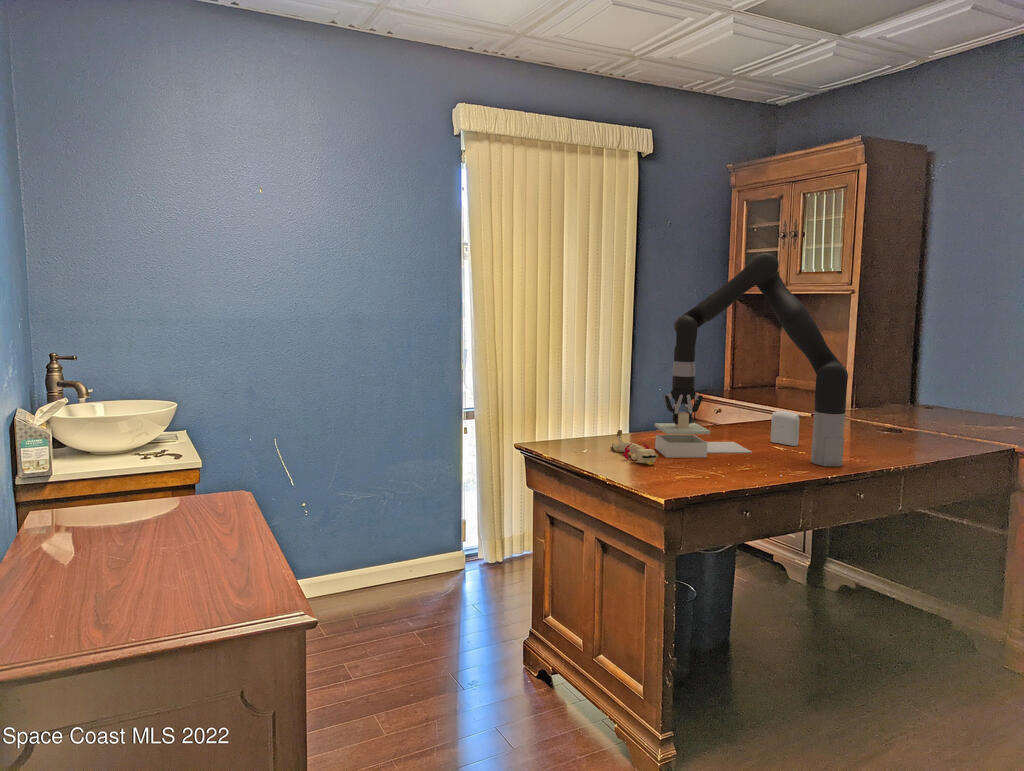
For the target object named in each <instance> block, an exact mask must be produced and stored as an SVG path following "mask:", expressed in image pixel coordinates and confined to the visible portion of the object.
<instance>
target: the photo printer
mask: <svg viewBox="0 0 1024 771" xmlns="http://www.w3.org/2000/svg"><path fill="white" fill-rule="evenodd" d="M799 433H800V416H799V414H797V413H794V412H793V411H787V410H777V411H773V412H772V415H771V424H770V443H772V444H773V443H774V444H780V445H787V446H790V447H791V446H793V447H798V445H799V437H800V434H799Z"/></svg>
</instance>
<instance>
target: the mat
mask: <svg viewBox="0 0 1024 771" xmlns="http://www.w3.org/2000/svg"><path fill="white" fill-rule="evenodd" d="M706 442H707V443H708V444H707V454H753V451H752V450H749V449H748V448H746V447H745V446H742V445H740V444H739V443H737V442H735V441H706Z"/></svg>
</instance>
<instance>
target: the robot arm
mask: <svg viewBox="0 0 1024 771" xmlns="http://www.w3.org/2000/svg"><path fill="white" fill-rule="evenodd" d="M779 266H780V264H779V260H778V258H777V257H776V256H775V255H774V254H773V253H770V252H762V253H758V254H756V255H754V257H753V258H751V260H750V262H749V263H748V264H746V266H745V267H744V268H743V269H742V270H741V271H740V272H738V273H737V274H736V275H735V276H734V277H733V278H732V279H730V280H729V281H728V282H726V283H725V284H724V285H722V286H720V287H719V288H717V289H716V290H715V291H713V292H712V293H711V294H708V296H707V297H705V298H703V299H702V300H701V301H700V302H699V303H698V304H697V305H696V306H694V307H692V308H691V309H690V310H688V311H686V312H685V313H683V314H682V315H681V316H678V318H677V319H676V320H675V321H674V324H673V325H674V326H673V328H674V331H675V332H676V334H675V336H676V340H675V342H676V343H675V346H674V351H673V365H672V372H671V373H672V379H671V380H672V382H671V391H670V392H669V393H668V394H663V395H662V396H663V401H664V403H665V404H664V405H665V406H666V409H667V411H668V412H671V413H672V423H674V424H678V414H677V413H678V412H679V410H680V408H681V405H683V404H684V406H685V408H686V412H687V413H689V424H690V423H692V420H693V419H692V416H693V413H697V412H698V411H699V407H700V405H701V403H702V401H703V399H704V396H703V395H701V394H699V393H696V391H695V390H696V388H695V387H696V386H695V385H696V384H695V383H696V343H697V337H698V329H699V328H700V327H702V326H703V325H704V324H705V323H707V322H710V321H712V320H714V319H715V318H716V317H717V316H718V315H720V314H721V313H723V312H724V311H725V310H726V309H728V308H729V307H730V306H732V304H734V303H735V302H736V301H737V300H738V299H739V298H741V297H742V296H743V295H744V294H745V293H746V292H747V291H749V290H751V289H752V288H753V287H755V286H756V287H757V288H758V290H759V291H760V292H761V294H762V295H763V296H764V297H765V299H766V300H767V302H768V304H769V305H770V307H771V309H772V311H773V313H774V315H775V317H776V318H777V320H778V322H779V323H780V325H781V327H782V328H783V330H784V332H785V333H786V334H787V336H788V337H789V339H790V340H791V341H792V342H793V343H794V345H795V346H796V347H797V348H798V349H799V350H800V351H801V352H802V353H803V354H804V356H805V357H806V358H807V361H808V362H809V363H810V365H811V367H812V369H813V371H814V373H815V375H816V377H815V386H814V387H815V389H814V410H813V412H814V413H813V426H812V442H811V453H810V454H811V456H810V462H811V463H812V464H814V465H818V466H822V467H843V458H844V446H845V438H844V433H845V422H846V421H845V419H846V408H847V392H848V381H849V373H848V370H847V368H846V367H845V366H844V365H843V364H842V363H841V362H840V360H839V359H838V358H837V357H836V356H835V354H834V352H833V351H832V350H831V349H830V348H829V346H828V345H827V342H826V341H825V337H824V336H823V334H822V332H821V330H820V328H819V327H818V325H817V324H816V321H815V320H814V319H813V317H812V315H811V314H810V313H809V311H808V309H807V307H806V306H805V305H804V304H803V303H802V301H800V300H799V299H798V298H797V297H796V296H795V295H794V294H793V293H792V292H791V291H790V290H789V289H788V288H787V286H786V285H785V283H784V281H783V279H782V278H781V276H780V274H779V272H778V271H779ZM671 399H673V400H674V401H673V406H672V404H671V403H672V402H671ZM693 399H695V400H694V403H693V404H692V400H693Z"/></svg>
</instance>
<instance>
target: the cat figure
mask: <svg viewBox="0 0 1024 771" xmlns="http://www.w3.org/2000/svg"><path fill="white" fill-rule="evenodd" d="M622 435H623V430H622V429H618V430H617V432H616V438H617V440H618V443H617V444H616V443H612V442H611V446H610V447H609V448H610V450H611V452H612V451H613V452H616V451H618V452H622V456H623V457H624V459H626V460H627V461H629V453H630V454H631V455H630V457H631V458H630V460H631V459H632V460H635V461H634V462H635V463H638V464H639V463H640V464H646V465H650V466H651V465H653V464H654V463H655V462H656V459H657V458H659V454H658V453H656V451H655V450H654V449H652V448H650V447H649V446H648V445H647V444H645V443H644V442H641V444H643V445H644V446H642V445H639V444H638V443H635V442H630V441H623V440H624V439H623V438H622Z"/></svg>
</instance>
